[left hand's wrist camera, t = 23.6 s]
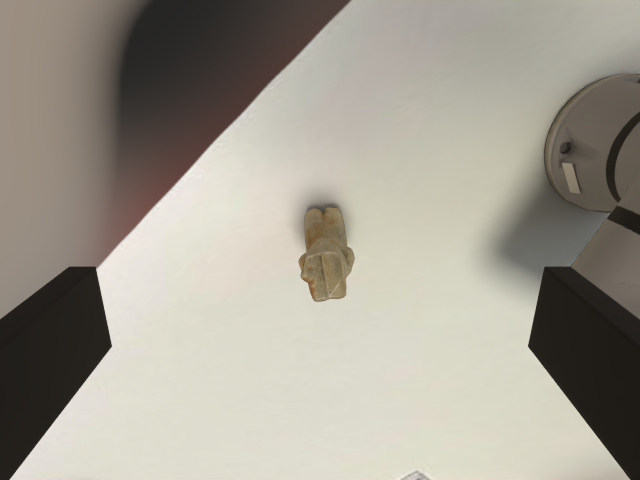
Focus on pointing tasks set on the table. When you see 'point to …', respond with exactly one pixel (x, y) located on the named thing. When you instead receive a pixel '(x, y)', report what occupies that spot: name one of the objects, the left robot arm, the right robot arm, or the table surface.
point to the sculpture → (326, 254)
